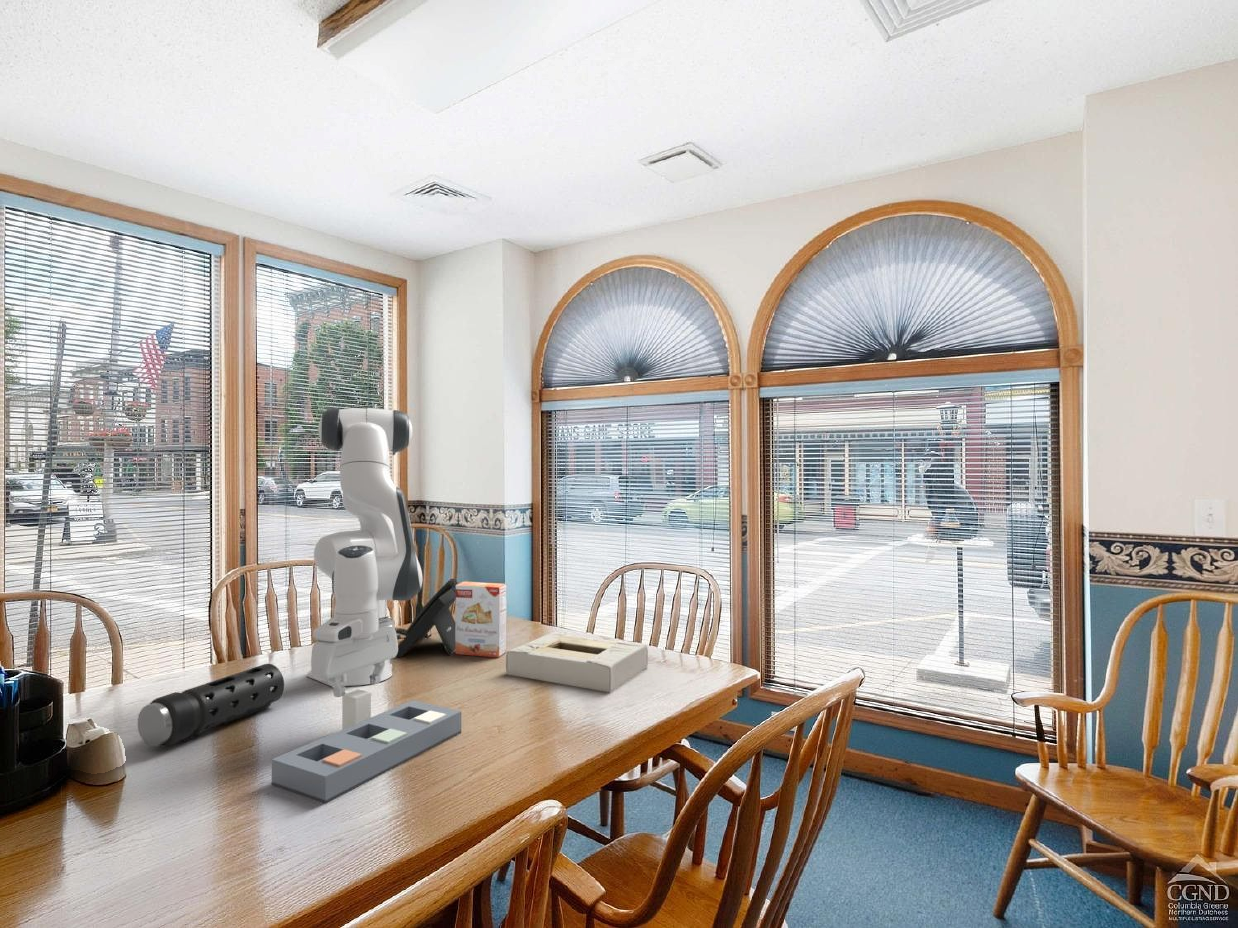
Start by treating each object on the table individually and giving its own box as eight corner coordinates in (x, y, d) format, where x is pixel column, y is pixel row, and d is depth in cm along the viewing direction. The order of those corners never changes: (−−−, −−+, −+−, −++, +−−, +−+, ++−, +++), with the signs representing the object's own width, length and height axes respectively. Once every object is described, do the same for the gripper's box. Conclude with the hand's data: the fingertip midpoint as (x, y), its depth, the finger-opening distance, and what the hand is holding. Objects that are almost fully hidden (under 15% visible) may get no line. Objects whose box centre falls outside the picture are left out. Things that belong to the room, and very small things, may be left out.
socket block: (271, 784, 122) (271, 756, 122) (412, 720, 152) (412, 698, 152) (325, 803, 116) (325, 774, 116) (461, 732, 146) (461, 709, 146)
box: (504, 677, 185) (611, 694, 171) (504, 648, 185) (611, 663, 171) (549, 656, 206) (648, 670, 192) (549, 630, 206) (648, 642, 192)
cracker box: (454, 655, 203) (454, 584, 203) (463, 649, 209) (463, 580, 208) (499, 658, 200) (499, 586, 199) (506, 652, 206) (507, 582, 205)
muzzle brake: (285, 709, 159) (285, 664, 159) (168, 758, 133) (168, 704, 133) (254, 703, 163) (254, 659, 163) (134, 750, 137) (134, 698, 136)
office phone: (386, 632, 230) (386, 572, 229) (471, 633, 229) (471, 572, 229) (350, 658, 200) (350, 588, 200) (447, 659, 200) (447, 589, 200)
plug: (342, 732, 146) (342, 694, 145) (357, 726, 149) (357, 689, 149) (355, 736, 144) (355, 698, 144) (370, 729, 147) (370, 692, 147)
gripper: (383, 613, 157) (384, 674, 156) (305, 632, 138) (306, 701, 138) (404, 615, 154) (405, 677, 153) (327, 635, 135) (328, 706, 135)
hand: (357, 689), depth 146 cm, fingers open, 8 cm apart
